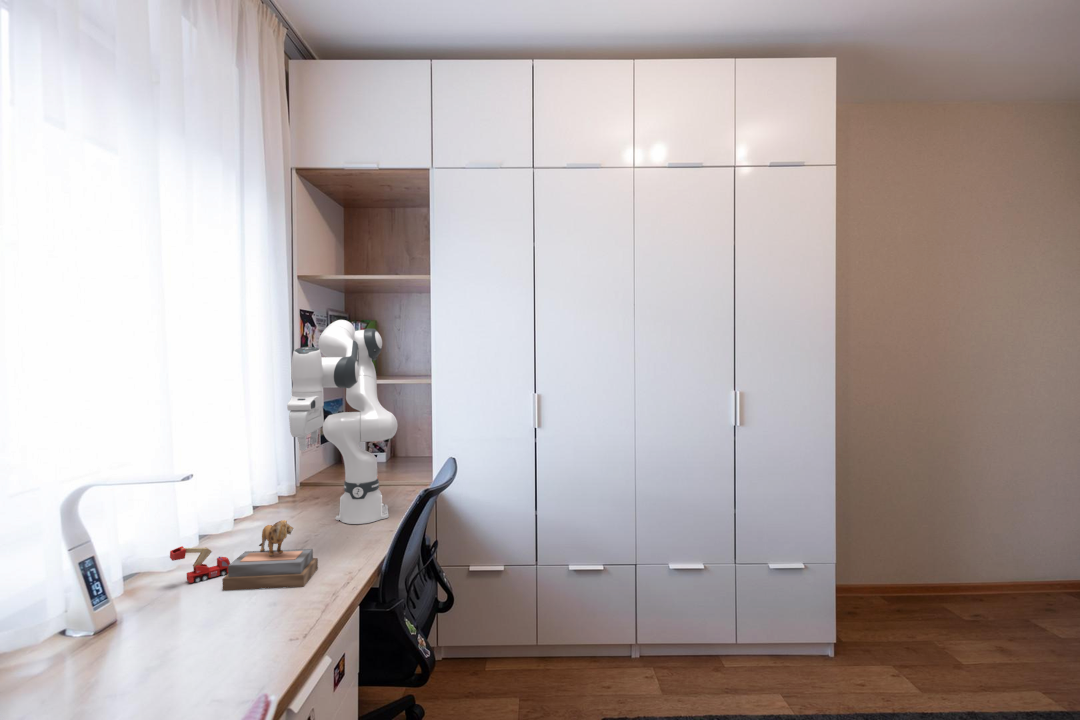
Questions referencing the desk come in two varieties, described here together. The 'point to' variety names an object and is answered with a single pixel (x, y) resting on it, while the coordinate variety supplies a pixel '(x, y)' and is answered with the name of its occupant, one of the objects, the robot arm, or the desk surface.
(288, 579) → the plinth
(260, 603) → the desk surface
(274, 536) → the lion figurine
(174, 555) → the toy fire truck
